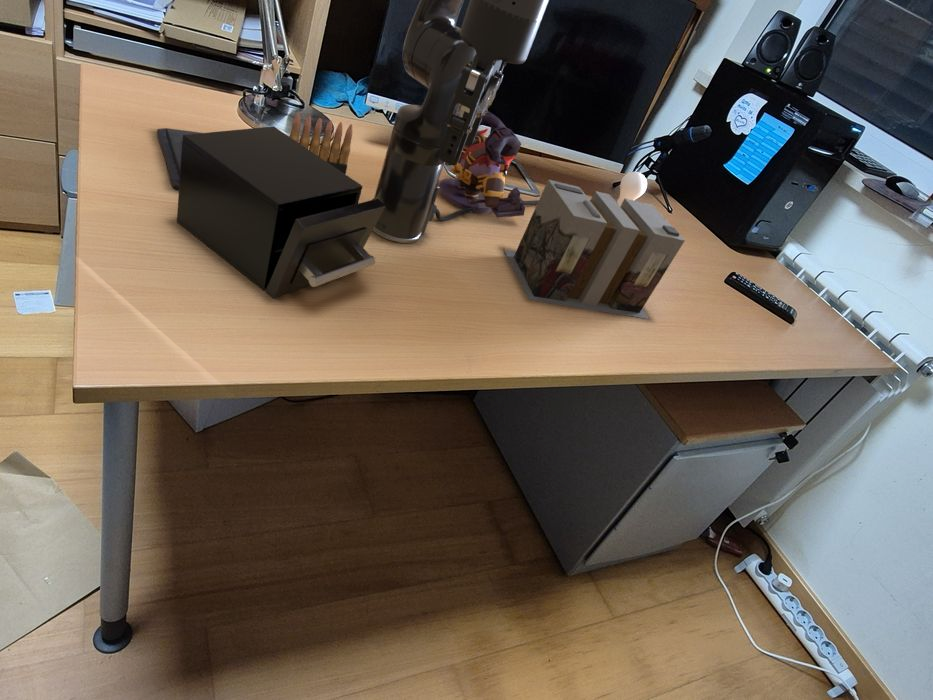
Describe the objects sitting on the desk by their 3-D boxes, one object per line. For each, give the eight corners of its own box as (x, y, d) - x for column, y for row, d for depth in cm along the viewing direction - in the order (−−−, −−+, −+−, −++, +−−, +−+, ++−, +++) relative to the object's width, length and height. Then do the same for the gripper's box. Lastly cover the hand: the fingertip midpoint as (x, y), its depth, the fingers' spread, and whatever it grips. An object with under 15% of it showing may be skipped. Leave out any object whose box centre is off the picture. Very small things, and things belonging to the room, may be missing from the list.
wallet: (157, 120, 104) (250, 134, 112) (156, 131, 105) (249, 144, 113) (170, 178, 91) (274, 189, 99) (169, 190, 92) (273, 200, 100)
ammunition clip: (340, 186, 112) (355, 123, 105) (342, 191, 111) (357, 127, 104) (280, 177, 107) (291, 109, 100) (281, 182, 106) (293, 114, 99)
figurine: (520, 228, 125) (554, 151, 115) (462, 223, 117) (493, 140, 108) (477, 179, 137) (505, 106, 127) (422, 172, 130) (447, 94, 120)
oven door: (367, 287, 92) (404, 224, 84) (291, 319, 80) (324, 249, 72) (344, 263, 93) (378, 198, 85) (265, 290, 81) (295, 218, 73)
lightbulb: (633, 222, 150) (656, 181, 144) (614, 219, 147) (636, 177, 141) (620, 209, 154) (642, 169, 148) (601, 206, 151) (623, 164, 145)
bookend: (649, 318, 113) (697, 243, 104) (529, 300, 103) (570, 215, 94) (614, 270, 124) (655, 198, 115) (503, 249, 115) (538, 169, 105)
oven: (342, 263, 93) (362, 185, 85) (263, 291, 81) (278, 204, 74) (261, 204, 98) (273, 126, 90) (176, 222, 87) (182, 134, 79)
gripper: (534, 24, 57) (473, 183, 66) (548, 13, 69) (495, 149, 78) (459, -9, 57) (408, 155, 66) (486, -15, 69) (440, 125, 78)
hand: (455, 152), depth 72 cm, fingers open, 8 cm apart
